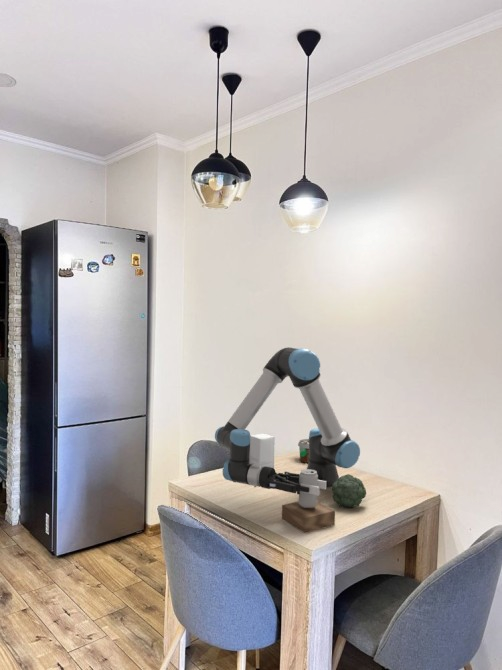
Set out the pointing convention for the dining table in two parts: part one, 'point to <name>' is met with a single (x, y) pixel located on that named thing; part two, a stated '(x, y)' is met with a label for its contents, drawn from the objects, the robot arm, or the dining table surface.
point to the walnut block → (308, 516)
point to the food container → (304, 450)
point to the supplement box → (262, 450)
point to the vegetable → (348, 491)
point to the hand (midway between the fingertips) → (322, 488)
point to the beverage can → (310, 479)
